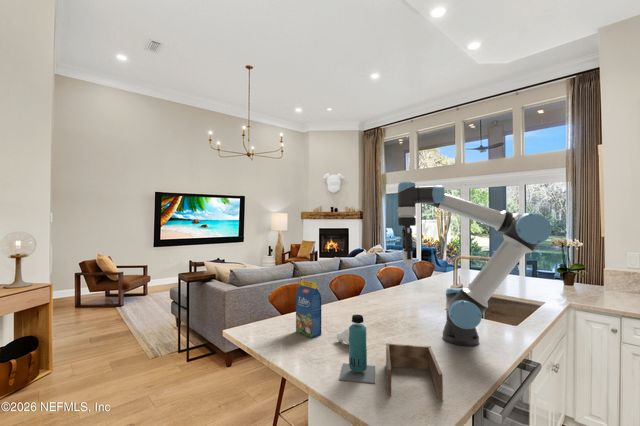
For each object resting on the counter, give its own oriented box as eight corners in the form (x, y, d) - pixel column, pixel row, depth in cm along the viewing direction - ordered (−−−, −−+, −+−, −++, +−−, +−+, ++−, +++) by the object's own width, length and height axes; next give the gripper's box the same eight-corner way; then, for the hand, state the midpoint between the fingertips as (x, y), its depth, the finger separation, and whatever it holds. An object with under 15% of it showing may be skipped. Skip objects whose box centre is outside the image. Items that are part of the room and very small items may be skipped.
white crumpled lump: (353, 329, 128) (332, 325, 137) (355, 350, 128) (333, 345, 136) (362, 325, 133) (341, 322, 141) (364, 345, 132) (342, 341, 140)
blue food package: (311, 338, 141) (311, 284, 142) (295, 331, 150) (295, 280, 151) (321, 335, 146) (321, 282, 146) (305, 328, 154) (305, 278, 155)
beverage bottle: (365, 367, 112) (364, 312, 113) (369, 376, 106) (368, 318, 106) (347, 367, 112) (347, 312, 113) (350, 377, 105) (349, 318, 106)
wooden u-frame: (430, 368, 112) (430, 346, 112) (442, 401, 92) (442, 374, 92) (386, 364, 115) (386, 343, 115) (388, 396, 95) (387, 369, 95)
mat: (375, 367, 113) (375, 365, 113) (375, 383, 102) (375, 382, 102) (343, 364, 116) (343, 363, 116) (339, 380, 104) (339, 379, 104)
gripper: (396, 217, 149) (396, 261, 148) (400, 216, 125) (400, 268, 124) (412, 217, 148) (413, 261, 147) (419, 216, 123) (420, 269, 123)
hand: (407, 265), depth 135 cm, fingers open, 13 cm apart
